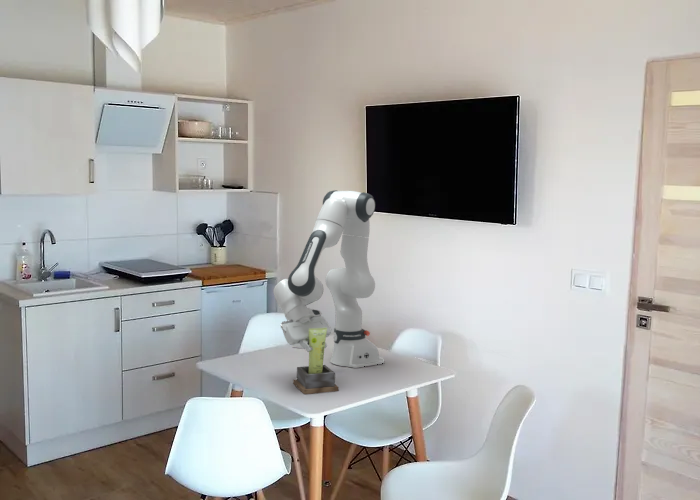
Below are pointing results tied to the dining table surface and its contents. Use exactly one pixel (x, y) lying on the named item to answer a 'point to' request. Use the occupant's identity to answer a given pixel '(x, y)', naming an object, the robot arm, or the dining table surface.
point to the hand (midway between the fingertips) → (317, 349)
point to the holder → (315, 381)
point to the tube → (316, 349)
